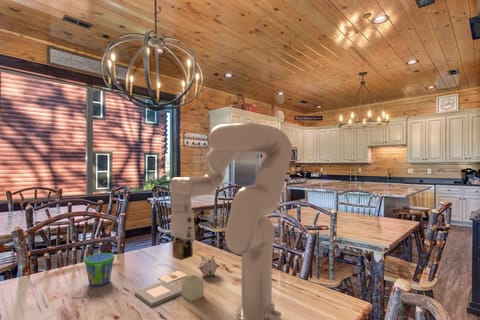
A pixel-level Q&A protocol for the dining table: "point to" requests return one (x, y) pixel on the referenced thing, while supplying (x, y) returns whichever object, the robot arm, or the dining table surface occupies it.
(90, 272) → the snack cup
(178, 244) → the walnut block
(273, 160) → the robot arm
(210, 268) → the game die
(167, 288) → the plate
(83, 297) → the dining table surface
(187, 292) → the sage block
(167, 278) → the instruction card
